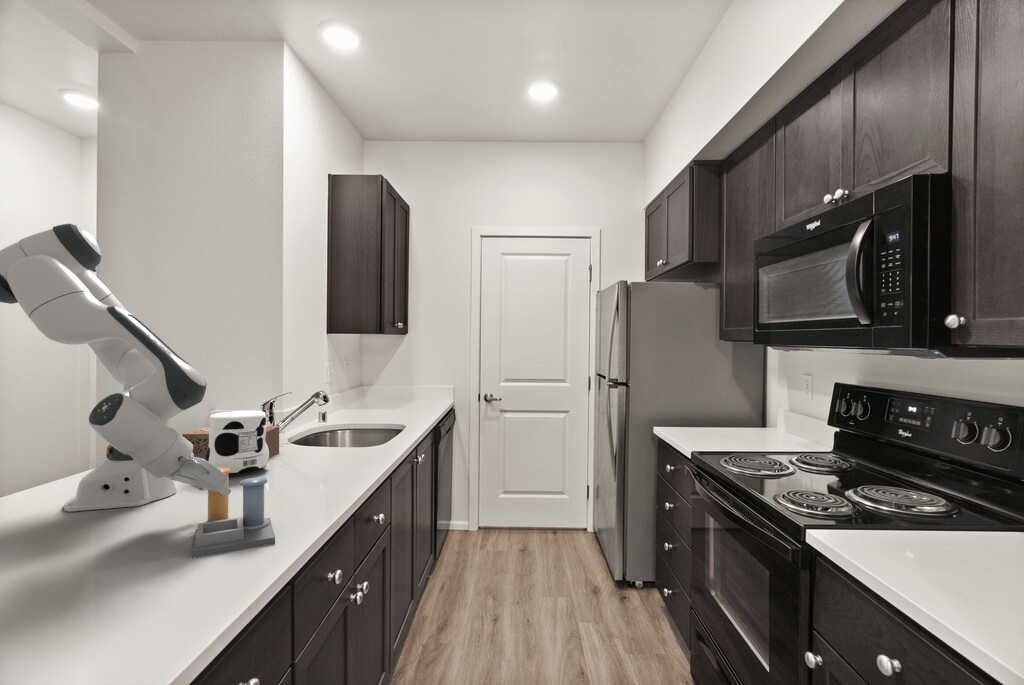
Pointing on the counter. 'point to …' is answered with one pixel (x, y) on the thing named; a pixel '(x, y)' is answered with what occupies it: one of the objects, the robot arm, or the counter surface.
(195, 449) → the tissue box cover
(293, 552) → the counter surface
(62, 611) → the counter surface
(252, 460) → the milk container
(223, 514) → the pin
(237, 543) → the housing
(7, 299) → the robot arm
